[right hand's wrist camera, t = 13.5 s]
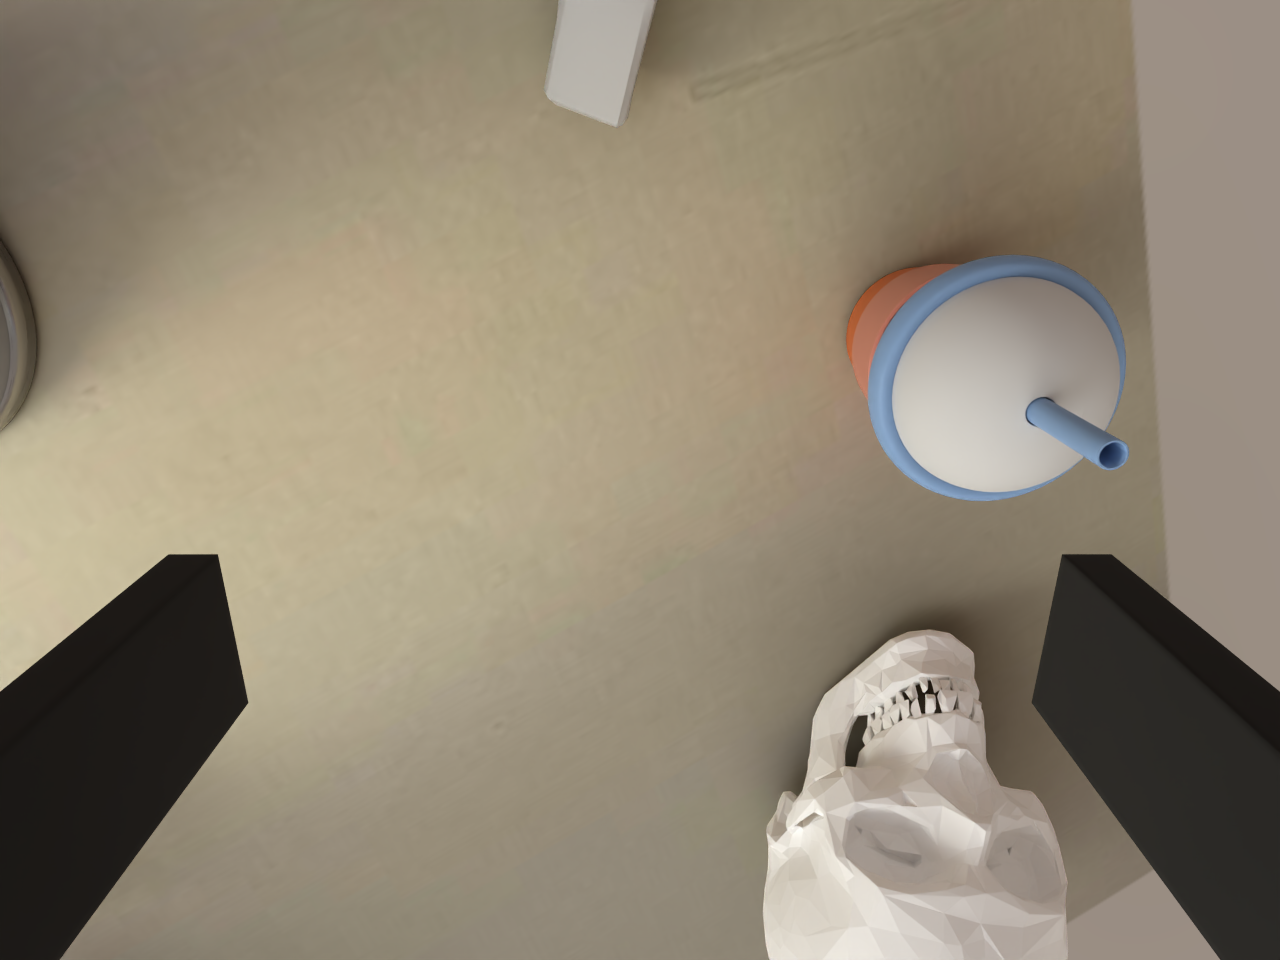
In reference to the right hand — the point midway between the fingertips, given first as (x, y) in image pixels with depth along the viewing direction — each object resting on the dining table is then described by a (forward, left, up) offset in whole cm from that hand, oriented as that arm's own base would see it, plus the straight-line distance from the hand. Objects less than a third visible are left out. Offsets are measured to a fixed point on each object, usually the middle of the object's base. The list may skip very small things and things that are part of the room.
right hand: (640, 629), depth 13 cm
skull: (-22, -21, -28) cm, 41 cm away
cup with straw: (+3, -13, -28) cm, 31 cm away
